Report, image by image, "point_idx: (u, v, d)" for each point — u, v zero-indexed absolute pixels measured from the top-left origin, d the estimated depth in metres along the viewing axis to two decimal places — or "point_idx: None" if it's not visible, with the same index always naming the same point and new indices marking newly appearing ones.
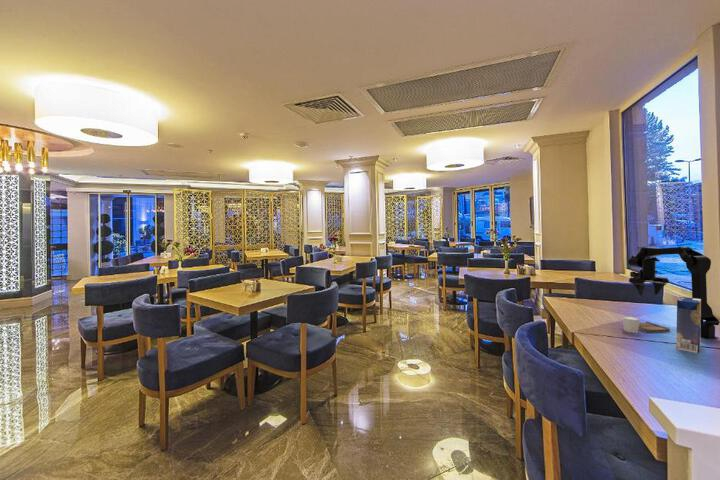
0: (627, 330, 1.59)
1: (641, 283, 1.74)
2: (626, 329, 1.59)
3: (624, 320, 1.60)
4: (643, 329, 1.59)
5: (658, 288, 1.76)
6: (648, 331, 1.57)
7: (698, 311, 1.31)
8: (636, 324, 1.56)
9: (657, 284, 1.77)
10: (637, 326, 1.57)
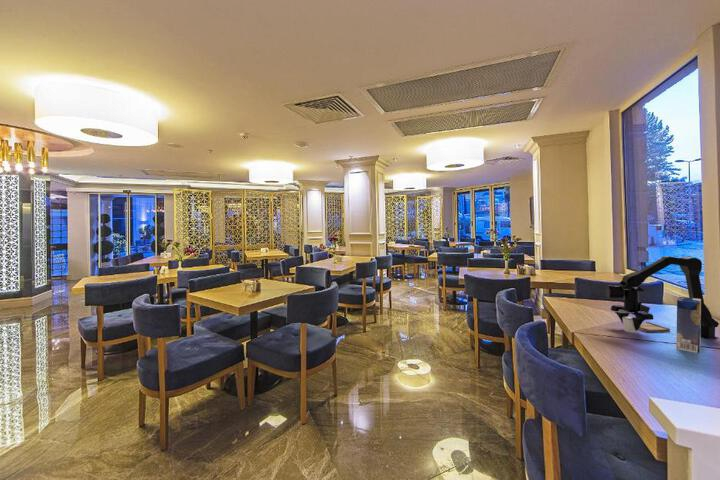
0: (627, 330, 1.59)
1: (613, 310, 1.67)
2: (626, 329, 1.59)
3: (624, 320, 1.60)
4: (643, 329, 1.59)
5: None
6: (648, 331, 1.57)
7: (698, 311, 1.31)
8: None
9: None
10: None
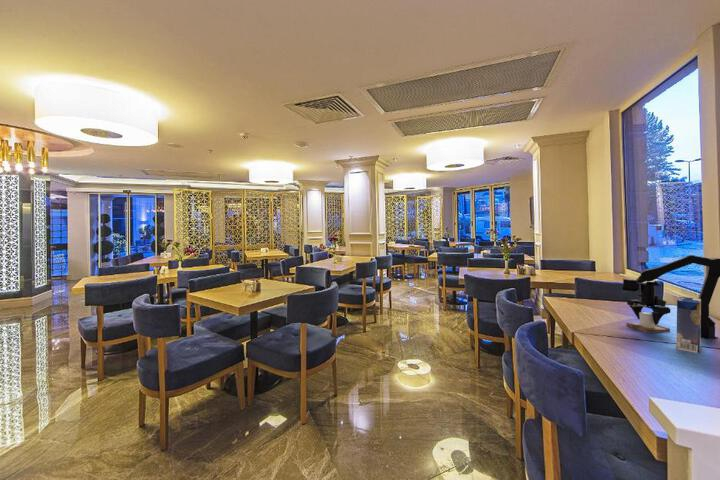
0: (644, 325, 1.62)
1: (629, 304, 1.70)
2: (643, 324, 1.62)
3: (641, 315, 1.63)
4: (643, 329, 1.59)
5: None
6: (648, 331, 1.57)
7: (698, 311, 1.31)
8: None
9: None
10: None
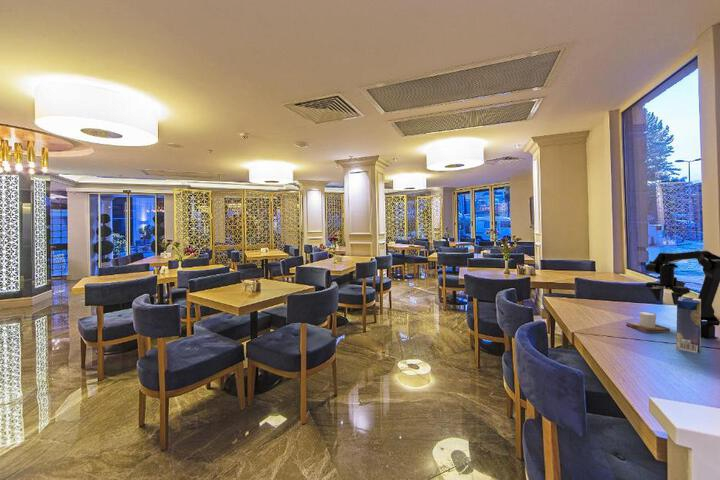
0: (644, 325, 1.62)
1: None
2: (643, 324, 1.62)
3: (641, 315, 1.63)
4: (643, 329, 1.59)
5: None
6: (648, 331, 1.57)
7: (698, 311, 1.31)
8: (653, 319, 1.60)
9: None
10: (654, 321, 1.60)
